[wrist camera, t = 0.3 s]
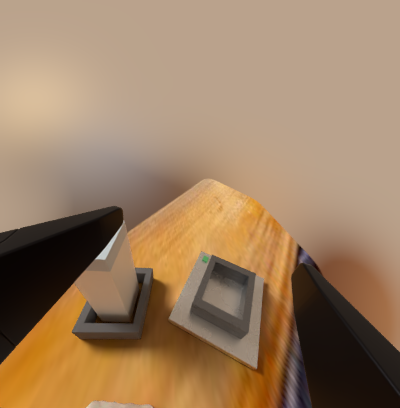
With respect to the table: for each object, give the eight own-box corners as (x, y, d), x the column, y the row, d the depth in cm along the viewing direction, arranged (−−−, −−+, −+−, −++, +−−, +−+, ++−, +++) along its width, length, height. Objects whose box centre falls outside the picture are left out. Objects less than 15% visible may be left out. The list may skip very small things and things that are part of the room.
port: (253, 370, 16) (267, 364, 14) (168, 321, 18) (169, 310, 16) (261, 281, 24) (270, 269, 22) (200, 254, 26) (203, 241, 24)
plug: (130, 322, 18) (105, 259, 10) (102, 321, 17) (54, 257, 10) (139, 288, 21) (124, 220, 13) (115, 288, 20) (86, 217, 13)
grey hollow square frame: (140, 339, 17) (138, 332, 15) (80, 339, 16) (71, 332, 15) (153, 277, 22) (152, 268, 20) (108, 276, 21) (103, 266, 20)
